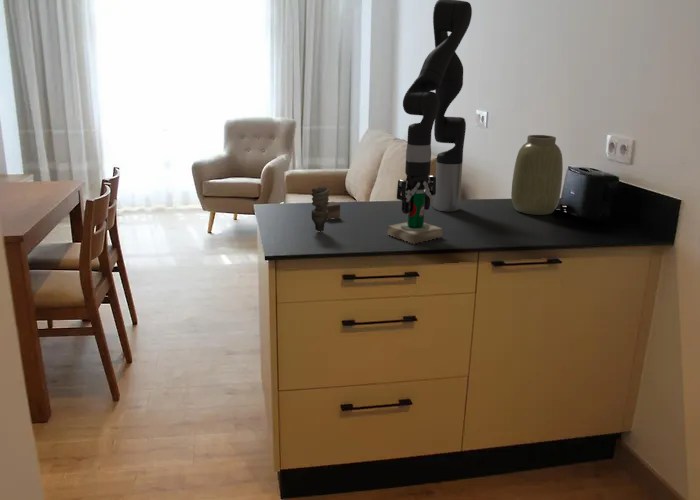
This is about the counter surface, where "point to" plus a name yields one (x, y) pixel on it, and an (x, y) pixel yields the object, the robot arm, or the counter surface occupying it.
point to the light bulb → (320, 207)
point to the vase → (537, 176)
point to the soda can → (416, 209)
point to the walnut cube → (333, 210)
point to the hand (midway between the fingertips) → (415, 211)
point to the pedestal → (414, 232)
